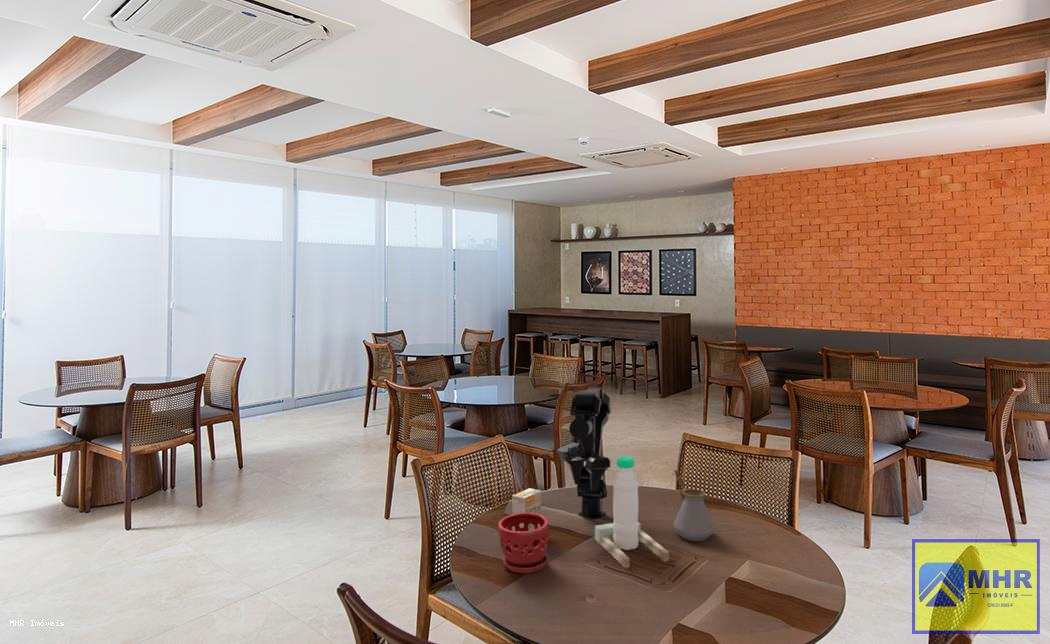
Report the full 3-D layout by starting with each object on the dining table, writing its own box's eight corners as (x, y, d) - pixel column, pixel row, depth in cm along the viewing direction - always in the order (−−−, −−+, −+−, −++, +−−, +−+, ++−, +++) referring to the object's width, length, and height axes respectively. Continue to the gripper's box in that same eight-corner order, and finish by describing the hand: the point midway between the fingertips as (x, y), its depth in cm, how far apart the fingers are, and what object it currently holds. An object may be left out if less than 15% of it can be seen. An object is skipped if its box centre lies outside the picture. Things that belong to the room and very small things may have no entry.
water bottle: (638, 552, 164) (638, 462, 162) (612, 550, 165) (611, 461, 164) (638, 541, 171) (638, 455, 169) (613, 539, 172) (613, 454, 171)
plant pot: (520, 550, 166) (520, 508, 165) (559, 563, 157) (558, 519, 157) (488, 567, 156) (487, 522, 155) (527, 583, 147) (527, 535, 147)
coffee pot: (721, 543, 169) (721, 490, 168) (681, 545, 168) (682, 492, 167) (692, 514, 190) (692, 468, 189) (657, 516, 189) (657, 469, 188)
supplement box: (525, 543, 170) (524, 498, 169) (512, 539, 173) (511, 494, 172) (542, 533, 177) (541, 490, 176) (529, 529, 180) (528, 487, 179)
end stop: (595, 539, 172) (594, 525, 172) (635, 533, 176) (635, 520, 176) (599, 543, 170) (599, 529, 169) (640, 537, 173) (640, 524, 173)
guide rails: (599, 543, 170) (599, 534, 169) (640, 537, 173) (640, 529, 173) (624, 568, 154) (624, 559, 154) (669, 561, 158) (669, 552, 158)
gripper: (546, 431, 183) (545, 483, 182) (578, 440, 166) (577, 497, 166) (577, 430, 188) (577, 480, 187) (611, 438, 171) (611, 493, 171)
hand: (584, 487), depth 178 cm, fingers open, 9 cm apart
